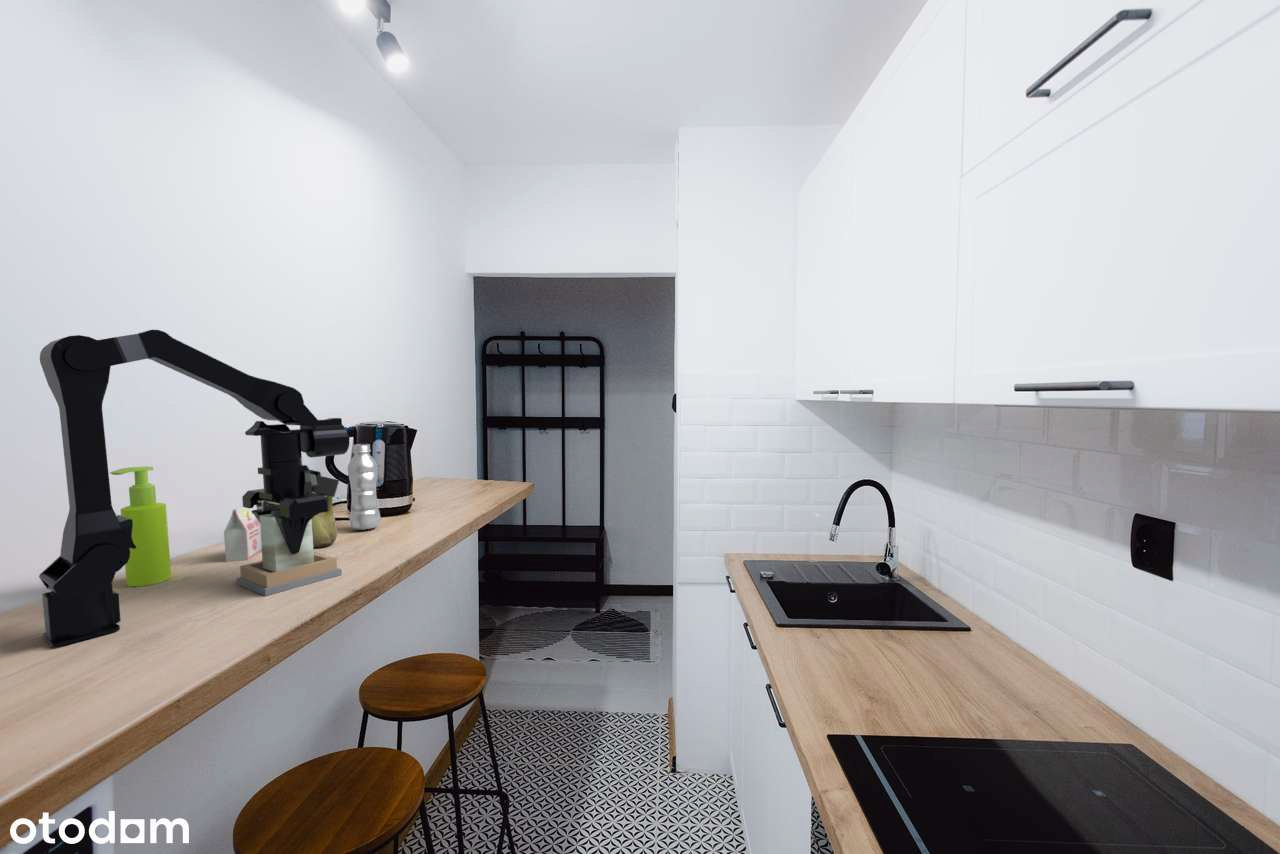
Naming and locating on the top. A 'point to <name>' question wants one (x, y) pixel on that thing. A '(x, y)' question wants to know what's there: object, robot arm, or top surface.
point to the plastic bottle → (363, 489)
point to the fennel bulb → (324, 527)
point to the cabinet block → (283, 545)
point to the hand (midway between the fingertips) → (287, 551)
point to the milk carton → (242, 535)
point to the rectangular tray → (287, 575)
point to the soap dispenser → (146, 532)
